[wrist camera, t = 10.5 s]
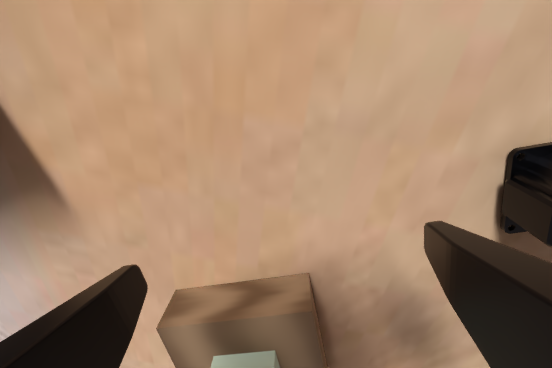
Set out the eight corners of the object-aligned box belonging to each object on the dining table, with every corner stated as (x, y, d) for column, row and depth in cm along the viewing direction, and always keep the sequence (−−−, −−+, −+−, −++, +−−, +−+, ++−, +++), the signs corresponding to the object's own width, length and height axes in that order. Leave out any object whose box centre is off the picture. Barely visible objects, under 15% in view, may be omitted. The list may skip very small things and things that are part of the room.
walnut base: (308, 273, 24) (312, 311, 20) (327, 367, 28) (332, 412, 25) (175, 290, 25) (156, 328, 22) (213, 377, 30) (202, 421, 26)
